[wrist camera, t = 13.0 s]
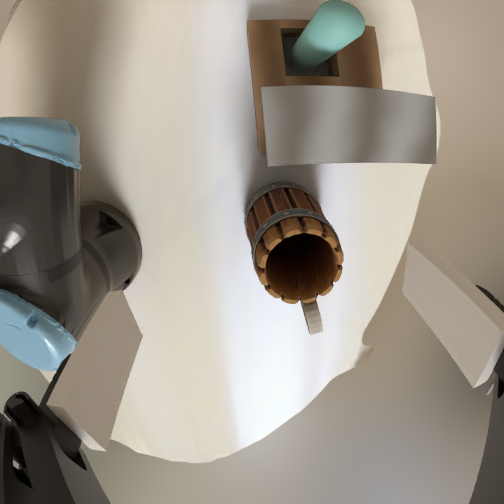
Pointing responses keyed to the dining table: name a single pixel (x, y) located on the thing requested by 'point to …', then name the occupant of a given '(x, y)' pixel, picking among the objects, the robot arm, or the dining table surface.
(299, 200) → the mug
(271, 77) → the socket block
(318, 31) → the peg
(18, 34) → the dining table surface
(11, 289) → the robot arm
